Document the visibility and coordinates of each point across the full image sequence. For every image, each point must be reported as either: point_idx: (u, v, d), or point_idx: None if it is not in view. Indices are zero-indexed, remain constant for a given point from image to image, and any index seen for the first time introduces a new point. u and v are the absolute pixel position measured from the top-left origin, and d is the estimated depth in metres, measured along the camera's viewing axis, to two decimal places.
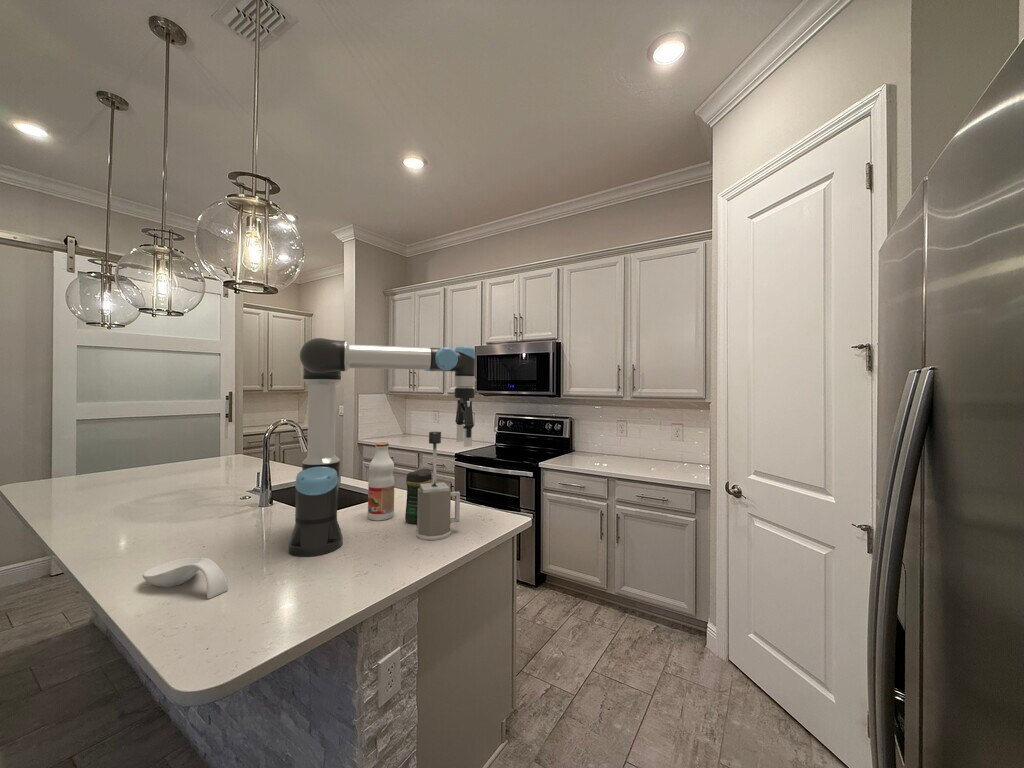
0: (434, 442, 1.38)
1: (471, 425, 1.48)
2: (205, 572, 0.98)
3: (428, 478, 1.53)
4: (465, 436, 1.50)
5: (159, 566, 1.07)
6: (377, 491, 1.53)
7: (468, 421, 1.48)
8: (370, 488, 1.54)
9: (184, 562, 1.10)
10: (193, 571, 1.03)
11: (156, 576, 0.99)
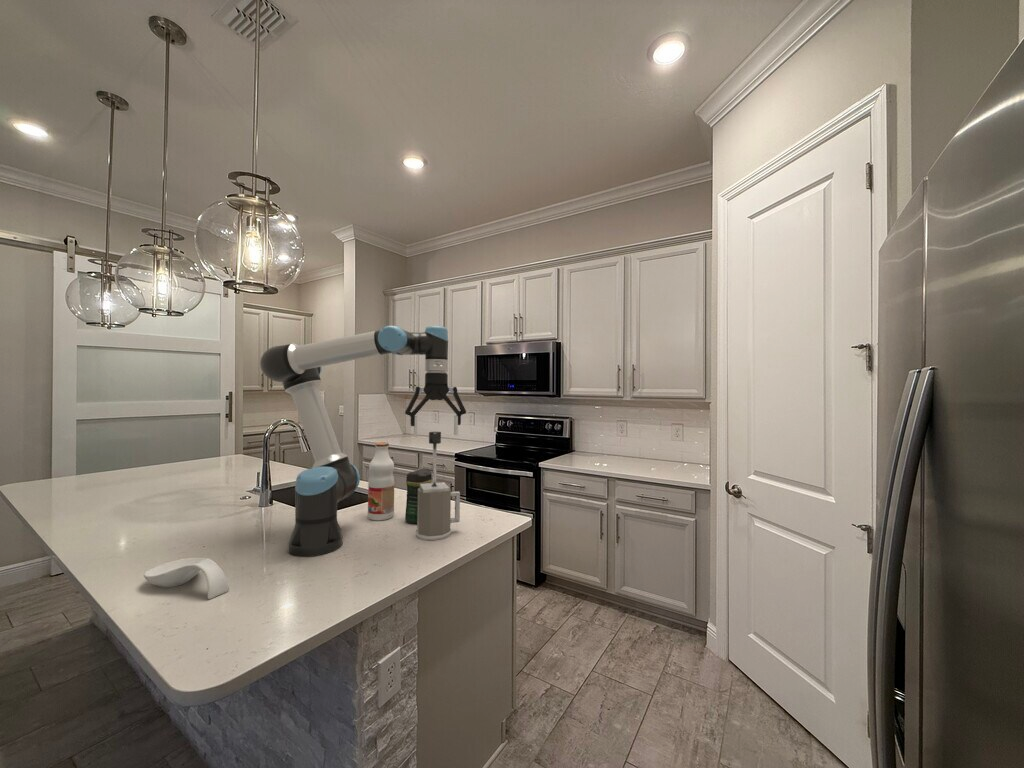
0: (434, 442, 1.38)
1: (405, 412, 1.37)
2: (206, 572, 0.98)
3: (428, 478, 1.53)
4: None
5: (161, 566, 1.07)
6: (377, 491, 1.53)
7: (407, 408, 1.38)
8: (370, 488, 1.54)
9: (185, 562, 1.10)
10: (194, 571, 1.03)
11: (157, 576, 0.99)
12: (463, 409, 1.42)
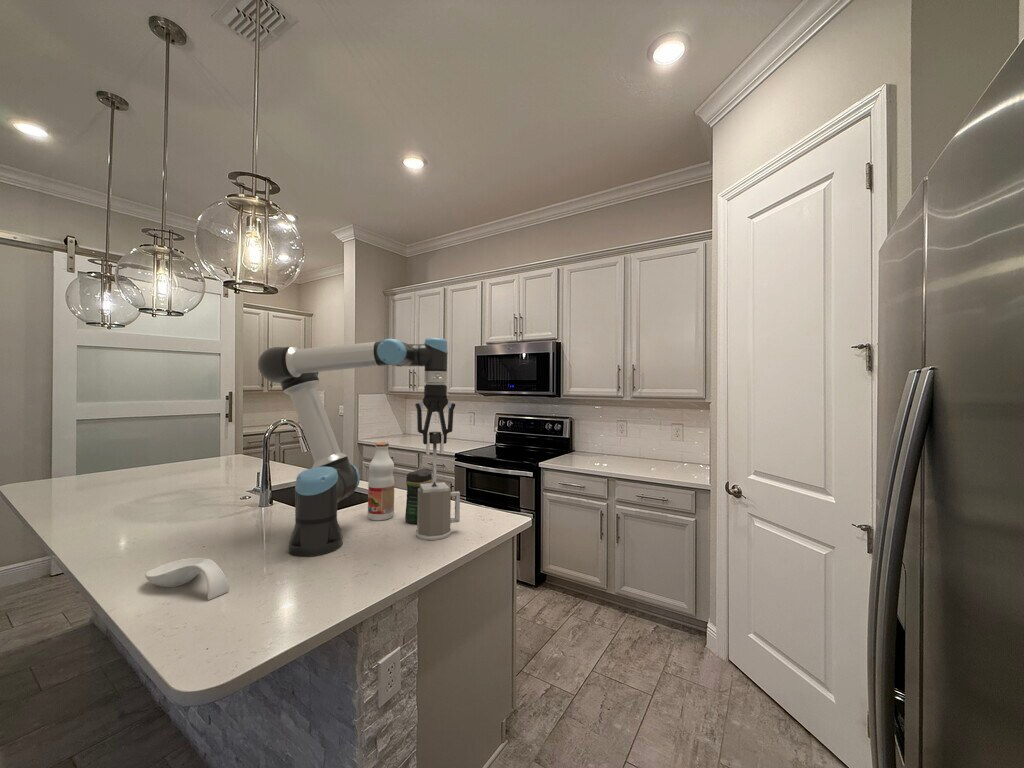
0: (434, 442, 1.38)
1: (418, 431, 1.38)
2: (206, 573, 0.97)
3: (428, 478, 1.53)
4: None
5: (162, 566, 1.07)
6: (377, 491, 1.53)
7: (417, 426, 1.39)
8: (370, 488, 1.54)
9: (187, 562, 1.10)
10: (195, 572, 1.03)
11: (158, 576, 0.99)
12: (450, 427, 1.41)
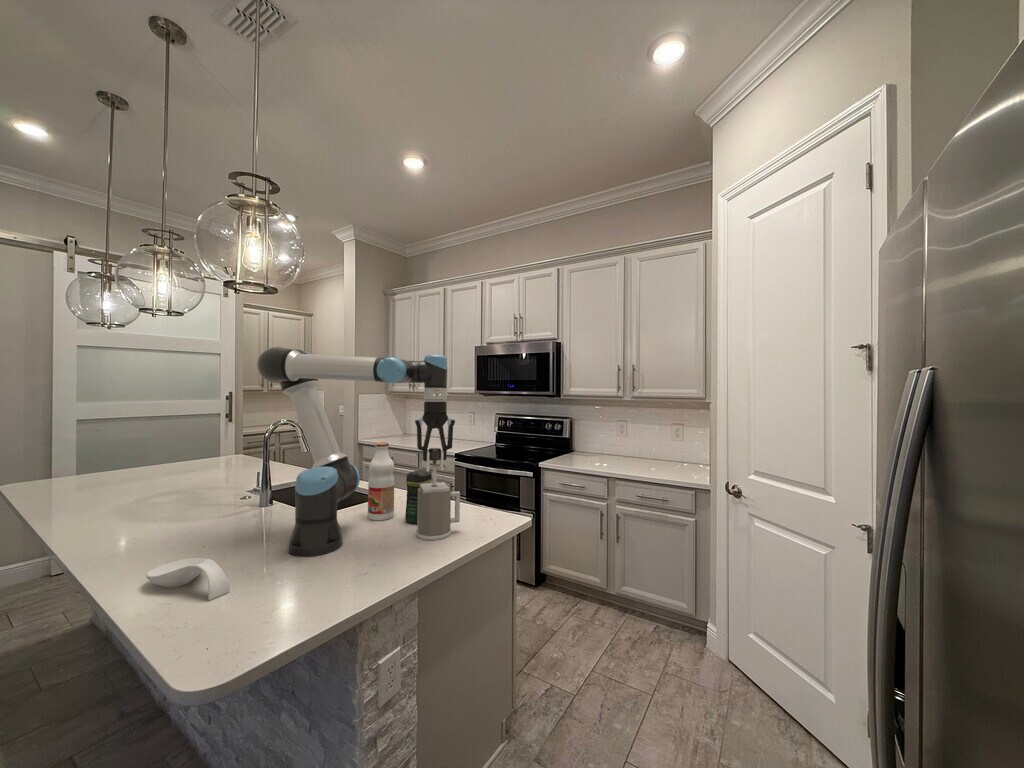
0: (434, 459, 1.38)
1: (418, 448, 1.38)
2: (207, 573, 0.97)
3: (428, 478, 1.53)
4: None
5: (163, 566, 1.07)
6: (377, 491, 1.53)
7: (417, 443, 1.39)
8: (370, 488, 1.54)
9: (188, 562, 1.10)
10: (196, 572, 1.03)
11: (159, 576, 0.99)
12: (450, 444, 1.41)
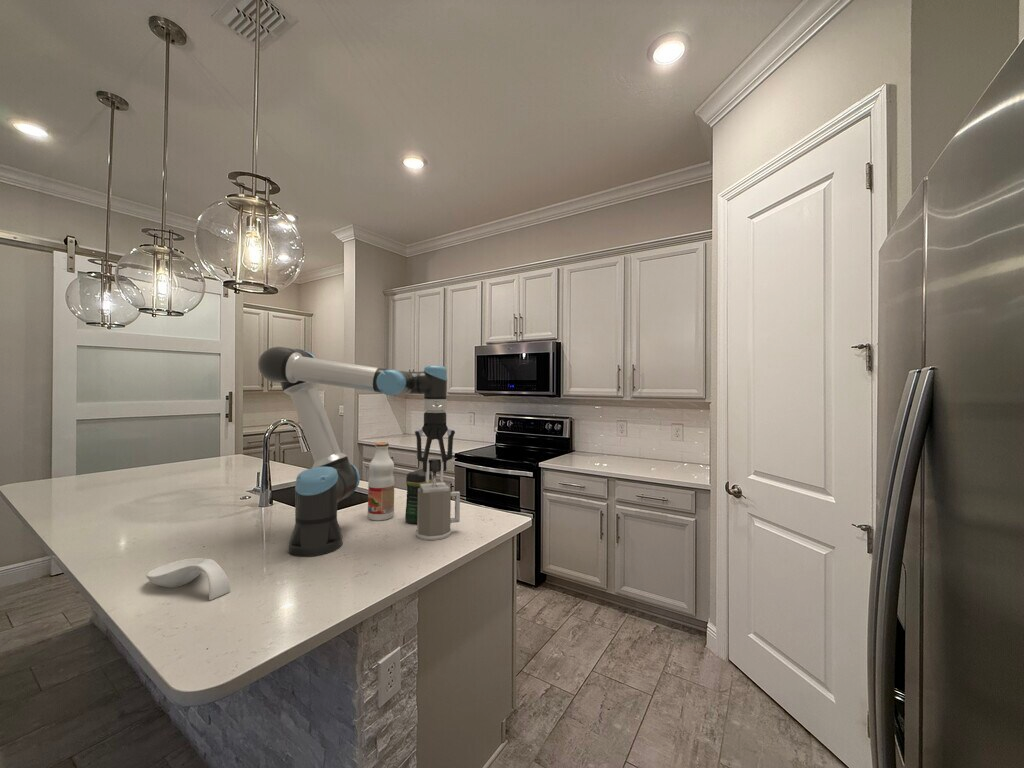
0: (434, 470, 1.38)
1: (418, 459, 1.38)
2: (207, 573, 0.97)
3: None
4: None
5: (163, 566, 1.07)
6: (377, 491, 1.53)
7: (417, 454, 1.39)
8: (370, 488, 1.54)
9: (188, 562, 1.10)
10: (196, 572, 1.03)
11: (159, 576, 0.99)
12: (450, 454, 1.41)
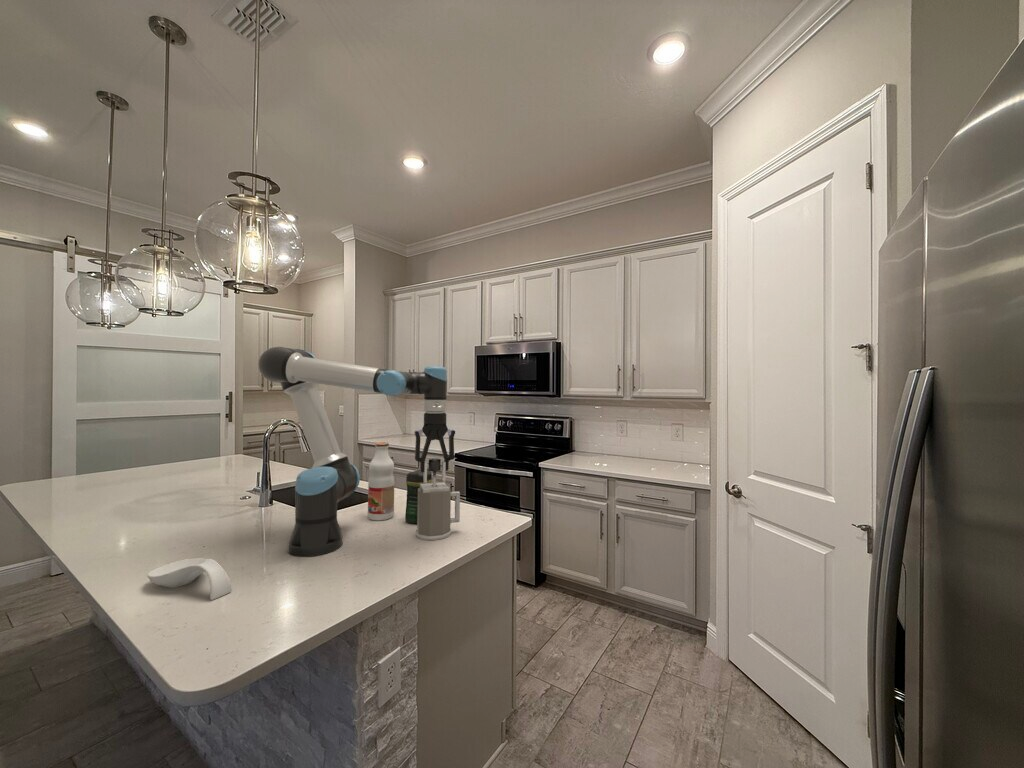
0: (434, 470, 1.38)
1: (415, 459, 1.38)
2: (209, 573, 0.97)
3: (428, 478, 1.53)
4: None
5: (164, 566, 1.07)
6: (377, 491, 1.53)
7: (415, 454, 1.39)
8: (370, 488, 1.54)
9: (189, 562, 1.10)
10: (197, 572, 1.03)
11: (161, 576, 0.99)
12: (452, 454, 1.41)
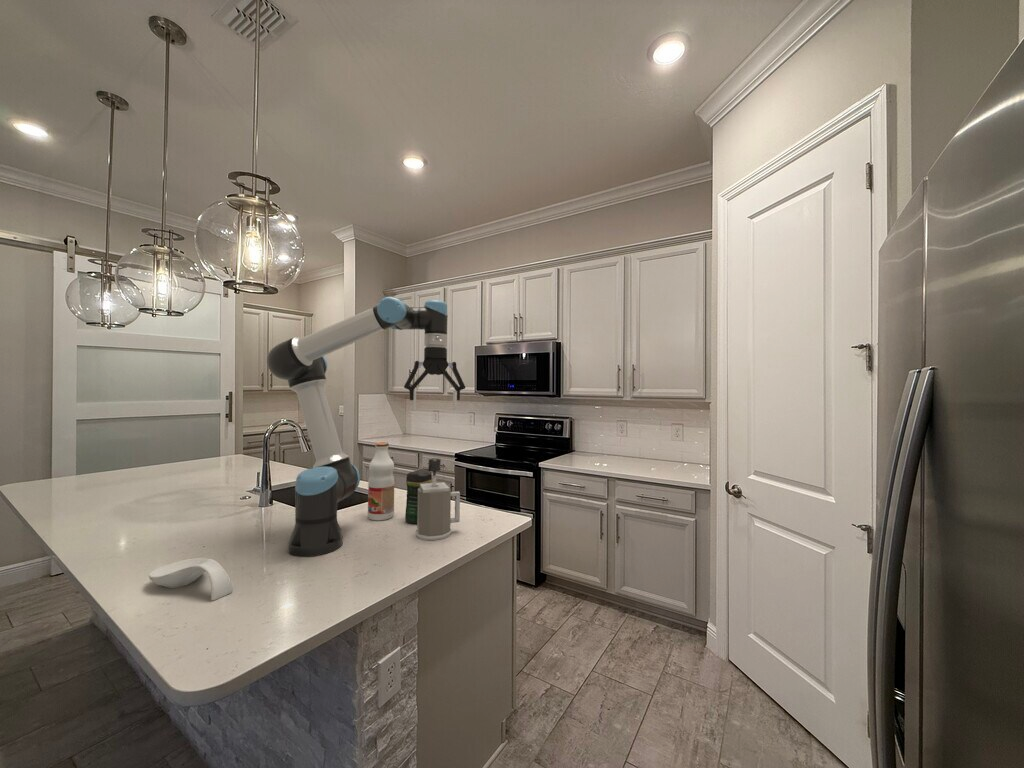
0: (434, 470, 1.38)
1: (404, 386, 1.37)
2: (209, 574, 0.97)
3: (428, 478, 1.53)
4: None
5: (166, 566, 1.07)
6: (377, 491, 1.53)
7: (406, 382, 1.38)
8: (370, 488, 1.54)
9: (190, 562, 1.10)
10: (198, 572, 1.03)
11: (162, 577, 0.99)
12: (462, 384, 1.42)
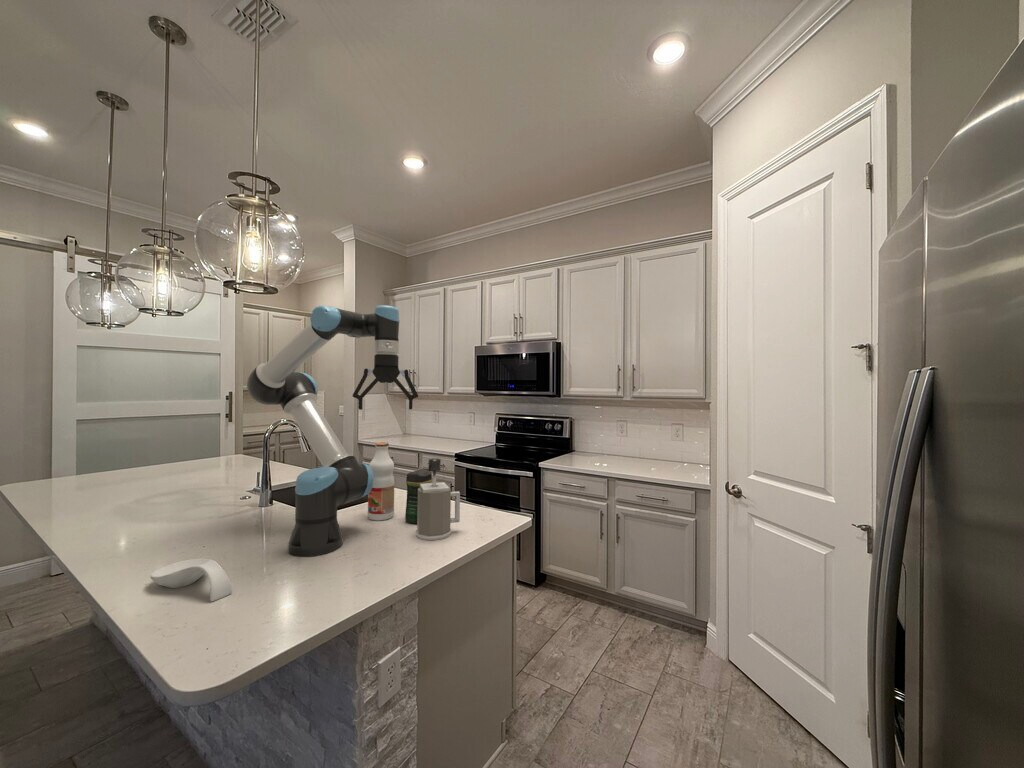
0: (434, 470, 1.38)
1: None
2: (209, 574, 0.97)
3: (428, 478, 1.53)
4: None
5: (168, 566, 1.07)
6: (377, 491, 1.53)
7: None
8: None
9: (192, 563, 1.10)
10: (199, 573, 1.03)
11: (162, 577, 0.99)
12: (415, 393, 1.37)
